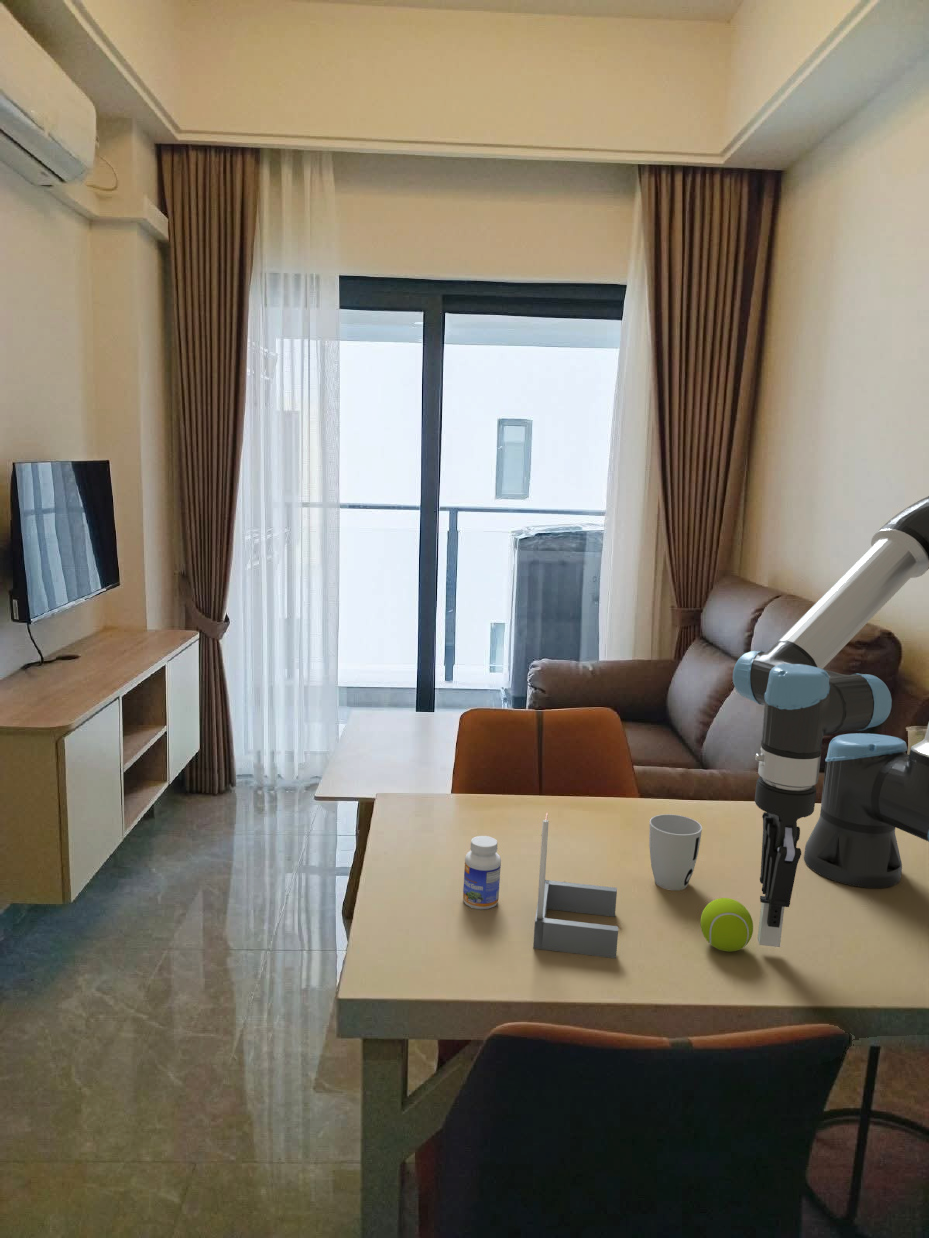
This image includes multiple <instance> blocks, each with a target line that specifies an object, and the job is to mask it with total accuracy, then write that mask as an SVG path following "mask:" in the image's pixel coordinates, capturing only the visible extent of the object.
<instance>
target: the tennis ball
mask: <svg viewBox="0 0 929 1238" xmlns="http://www.w3.org/2000/svg"><path fill="white" fill-rule="evenodd" d="M700 916H701V917H700V929H701V932H702V935H703V937H704V938H705V940H706V941H707V942H708V943H709V944H710V945H711V946H712V947H713V948H715V949H717V950H719V951H723V952H729V953H730V952H736V951H740V950H742V949H743V948H745V947H746V946H747V945H748V944H749V942H750V941H751V939H752V936H753V934H754V922H753V918H752V915H751V913H750V912H749V910H748V909H747V908H746V906H744V905H743V904H742V903H741V902H740V901H738V900H736V899H733V898H729V897H720V898H716V899H714V900H711V901H710V902H709V903H707V904H706V905H705V907H704V909H702V913H701V915H700Z"/></svg>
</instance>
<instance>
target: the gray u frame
mask: <svg viewBox="0 0 929 1238" xmlns="http://www.w3.org/2000/svg"><path fill="white" fill-rule="evenodd" d="M548 816H549V814H548V812H545V818H544V819H543V820H542V827H541V842H540V843H541V845H540V858H539V859H540V860H539V863H540V864H539V874H538V875H539V879H538V893H537V894H538V895H537V903H536V904H537V905H536V911H535V918H534V929H533V946H532V949H538V950H544V951H553V952H561V953H567V954H568V953H569V954H578V955H586V956H593V957H594V956H595V957H601V958H602V957H603V958H611V959H617V953H618V952H617V949H618V940H619V939H618V938H619V926H617V925H610V924H609V925H608V924H600V923H592V922H591V923H590V922H582V921H575V920H567V919H566V920H565V919H556V918H548V917H547V911H548V910H553V911H562V912H568V913H569V912H571V913H580V914H589V915H595V916H596V915H598V916H604V917H614V918H615V917H616V908H617V896H618V895H617V894H618V887H613V886H603V885H602V886H601V885H595V884H587V883H586V884H585V883H576V882H567V881H560V880H550V879H549V880H547V879H546V873H547V872H546V870H547V855H548V854H547V853H548V836H549V824H550V823H549V820H548Z"/></svg>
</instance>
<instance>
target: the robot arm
mask: <svg viewBox="0 0 929 1238" xmlns="http://www.w3.org/2000/svg"><path fill="white" fill-rule="evenodd" d="M870 545H871V546H870V548H869V549H868V550H867V551H866V552H865V553H864V554H863V555H862V556H861V557H860V558H859V559H858V560H857V561H855V563H854V564H853V565H852V566H851V567H850V568H849V569H848V570H847V571H846V572H845V573H843V575H842V576H841V577H840V578H839V579H838V580H837V581H836V582H835V583H834V584H833V585H832V586H831V587H830V588H829V589H828V590H827V591H826V592H825V593H824V594H823V595H822V596H821V597H820V598H819V599H818V600H817V601H816V602H815V603H814V604H813V605H812V606H811V607H810V608H809V609H808V610H807V611H806V612H805V613H804V614H803V615H802V616H801V617H800V618H799V620H797V621H796V622H795V623H794V624H793V625H792V626H791V627H790V628H789V629H788V630H787V631H786V632H785V633H784V634H783V636H781V637H780V638H779V640H778V641H777V642H775V644H774V645H772V646H771V648H769V650H767V651H766V652H765V651H763V650H761V651H760V650H751V651H748V652H745V653H743V654H742V655H741V656H740V657H739V658H738V659H737V660H736V663H735V664H734V667H733V672H732V683H733V686H734V689H735V690H736V692H737V693H738V694H739V695H740V696H742V697H744V698H745V699H747V700H749V701H752V702H754V703H757V704H758V705H762V706H764V708H763V709H764V710H763V722H762V731H761V732H762V733H761V740H760V753H756V754H755V756H754V759H755V761H757V762H758V771H757V773H758V775H759V777H758V778H757V779H756V787H755V794H754V803H755V806H757V808H759V809H760V810H761V811H763V812H762V814H761V815H762V817H761V818H762V842H761V858H760V859H761V861H760V875H759V876H760V877H759V882H760V884H762V887H761V892H762V895H759V901H760V911H759V913H760V914H759V922H758V923H759V924H758V933H757V942H758V946H766V947H774V948H781V943H782V939H781V938H782V931H783V925H784V913H785V908H789V907H790V906H791V900H792V893H793V889H794V883H795V878H796V874H797V869H798V863H799V862H800V858H801V856H802V849H801V848H800V847H797V844H798V841H799V840H800V837H801V836H800V835H801V828H800V826H798V820H799V819H802V818H807V817H809V816H811V815H813V813H814V812H815V806H816V797H817V788H816V786H815V785H817V784H818V783H819V777H820V776H819V775H820V774H819V773H820V767H821V756H822V746H823V738H824V736H827V735H832V734H833V735H834V734H838V733H839V735H836V736H835V737H833V738H832V739H831V740H830V742H829V744H828V749H827V753H826V754H827V755H826V757H825V759H824V760H825V765H824V767H825V768H824V776H823V783H822V784H823V785H822V792H821V793H822V795H821V803H820V804H821V805H820V813H819V817H818V820H817V822H816V823H815V826H814V827H813V829H812V832H811V834H810V836H809V837H808V839H807V841H806V844H805V847H804V853H803V861H804V863H805V864H806V865H807V867H809V869H811V870H812V871H813V872H815V873H816V874H819V875H820V876H822V877H824V878H827V879H829V880H831V881H834V882H837V883H840V884H844V885H848V886H853V887H858V888H859V887H860V888H866V889H867V888H868V889H869V888H870V889H883V888H889V887H893V886H895V885H897V884H898V883H900V880H901V879H902V878H901V877H902V871H903V870H902V869H903V863H902V858H901V854H900V849H899V846H898V845H899V844H898V841H897V836H896V829H899V830H900V831H902V832H905V833H908V834H910V835H913V836H915V837H917V838H919V839H921V840H924V841H926V842H928V843H929V722H928V724H927V727H926V732H925V735H924V738H923V739H922V740H921V741H919V742H918V743H915V744H913V745H912V746H911V747H910V751H909V754H908V753H907V751H908V746H907V743H906V741H905V740H903V739H902V738H900V737H897V736H891V735H887V734H878V733H861V731H864V730H867V729H870V728H873V727H877V726H880V725H881V724H883V723H884V722H886V720H887V719H888V717H889V716H890V713H891V710H892V701H893V699H892V695H891V691H890V690H889V688H888V685H886V683H885V682H884V681H883V680H882V679H880V678H879V677H877V676H876V675H873V674H869V673H868V674H867V673H865V674H863V673H852V674H842V673H839V672H836V671H832V670H828V669H824V668H825V667H826V666H827V665H828V664H829V663H830V662H831V661H832V660H833V659H834V658H835V657H836V656H837V655H838V654H839V652H840V651H841V650H842V649H843V648H844V647H846V645H847V644H848V643H849V642H850V641H851V640H852V639H853V638H854V637H855V636H856V635H857V634H858V633H860V631H861V630H862V629H863V628H864V627H865V626H866V624H868V623H869V621H871V620H872V619H873V618H874V616H876V614H877V613H879V611H880V610H881V609H882V608H883V607H885V605H887V603H888V602H889V601H890V600H891V599H892V598H893V597H894V596H895V595H896V593H897V592H899V591H900V590H901V589H902V588H903V586H905V584H906V583H907V582H909V580H911V579H913V578H914V579H915V578H918V577H923V575H924V574H925V573H927V571H929V495H928V496H926V497H924V498H921V499H919V500H918V501H916V502H914V503H912V504H911V505H909V506H907V507H905V508H904V509H903V510H901V511H900V512H898V513H897V514H895V515H894V516H893V517H892V518H890V520H888V521H887V522H886V523H885V524H884V525H882V526H881V527H880V528H879V530H878V531H877V532H875V533H874V535H873V536H872V537H871V541H870ZM897 594H898V593H897ZM854 731H856V732H859V731H860V732H859V733H846V732H854ZM840 733H844V734H840ZM845 733H846V734H845Z"/></svg>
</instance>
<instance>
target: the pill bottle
mask: <svg viewBox="0 0 929 1238" xmlns="http://www.w3.org/2000/svg"><path fill="white" fill-rule="evenodd" d="M469 849H470V850H469V851H467V853H466V855H465V857H464V872H463V874H464V875H463V888H462V890H463V891H462V892H463V893H462V900H463V902H464V904H465V905H466V906H467V907H469V908H472V909H475V910H489V909H492V908H494V907H496V906H497V905H498V903H499V897H500V880H501V867H502V865H501V864H502V863H501V862H502V860H501V856H500V855H499V853H498V840H497V839H496V838H494V837H492V836H488V835H477V836H474V837H473V838H471V840H470V848H469Z"/></svg>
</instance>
